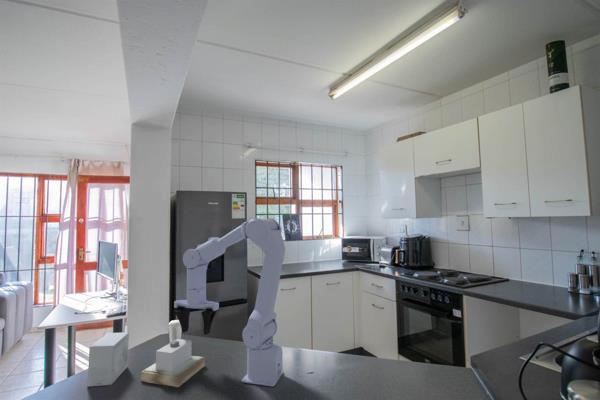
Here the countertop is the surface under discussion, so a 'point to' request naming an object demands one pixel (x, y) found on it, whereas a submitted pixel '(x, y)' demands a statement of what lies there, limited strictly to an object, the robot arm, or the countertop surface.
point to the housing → (173, 355)
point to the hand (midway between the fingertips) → (196, 332)
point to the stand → (173, 373)
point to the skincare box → (107, 359)
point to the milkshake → (174, 330)
